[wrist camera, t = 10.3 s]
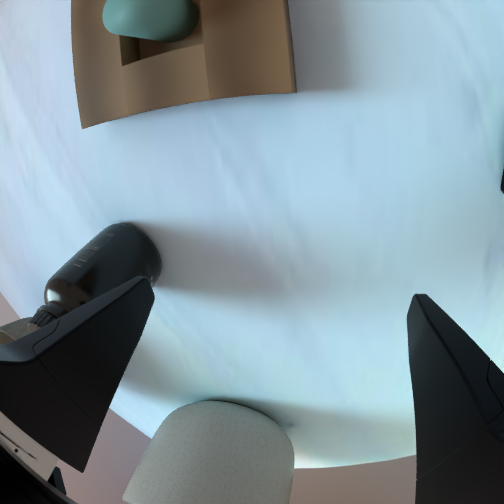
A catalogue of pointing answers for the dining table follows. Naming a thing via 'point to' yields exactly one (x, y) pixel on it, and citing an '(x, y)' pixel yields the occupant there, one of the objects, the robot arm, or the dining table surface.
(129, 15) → the pin
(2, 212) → the dining table surface
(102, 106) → the bore block
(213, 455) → the planter
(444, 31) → the dining table surface
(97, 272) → the supplement bottle
